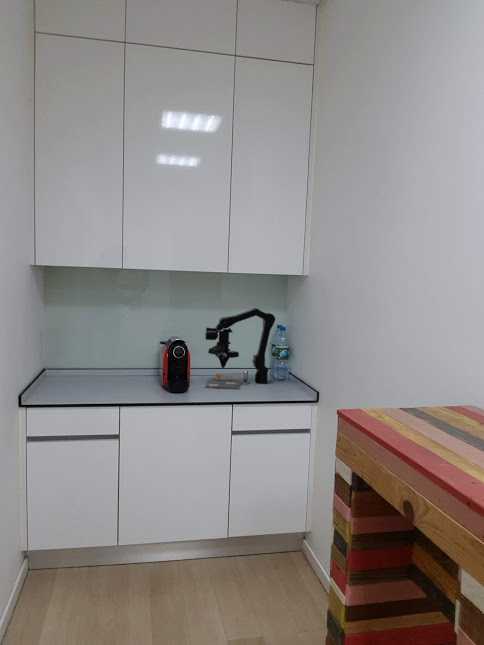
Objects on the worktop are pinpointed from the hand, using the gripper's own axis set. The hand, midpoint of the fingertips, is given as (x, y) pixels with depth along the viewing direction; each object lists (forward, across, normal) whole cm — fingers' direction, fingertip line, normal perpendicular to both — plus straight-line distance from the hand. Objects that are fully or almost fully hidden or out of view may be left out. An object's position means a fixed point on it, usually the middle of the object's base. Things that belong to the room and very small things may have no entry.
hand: (222, 367), depth 279 cm
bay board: (+8, +6, -6) cm, 11 cm away
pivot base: (+8, +10, +8) cm, 15 cm away
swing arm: (+7, +6, +1) cm, 10 cm away
